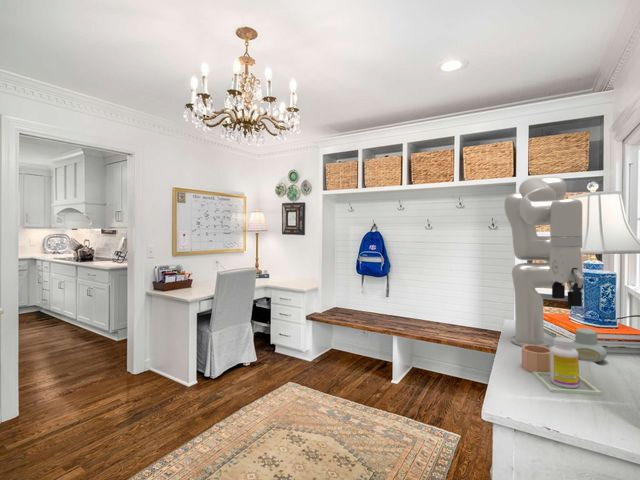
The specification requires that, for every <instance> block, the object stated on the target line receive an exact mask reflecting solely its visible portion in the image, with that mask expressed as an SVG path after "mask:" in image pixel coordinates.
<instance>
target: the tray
mask: <svg viewBox="0 0 640 480" xmlns="http://www.w3.org/2000/svg"><path fill="white" fill-rule="evenodd" d="M532 375H533V376H534V377H535V378H536V380H538V381H539V382H540V383H541V384H542V385H543V386H544V387H545V388H546V389H547V390H548V391H549V392H550V393H557V394H573V395H588V396H589V395H590V396H602V391H601V390H599V389H598V388H596V387H595V386H594V385H592V383H590V382H589V381H587V380H586V378H584V377H582V376H581V375H580V374H579V382H581V383H582V384H584V385H585V386H586V387H587V388H589V389H590V390H589V389H588V390H587V389H576V388H558V387H557V388H555V387H552V386H551V385H550V384H549V383H548V382H547V381H546V380H545V379H544V378H543V377H550V373H549V372H532ZM542 376H543V377H542Z"/></svg>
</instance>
